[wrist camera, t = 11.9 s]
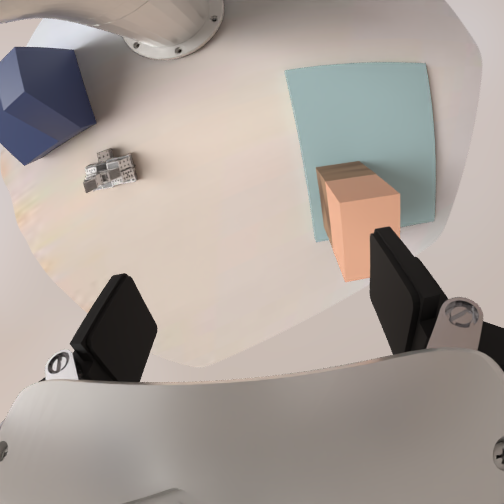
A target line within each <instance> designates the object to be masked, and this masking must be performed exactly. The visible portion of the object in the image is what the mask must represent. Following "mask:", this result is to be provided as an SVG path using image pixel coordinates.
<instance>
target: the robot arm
mask: <svg viewBox="0 0 504 504" xmlns="http://www.w3.org/2000/svg"><path fill="white" fill-rule="evenodd" d="M223 15H224V2H223V0H0V24H2V23H7V22H12V21H17V20H23V19H32V18H49V19H58V20H64V21H70V22H74V23H78V24H82V25H86V26H90V27H94V28H97V29H101V30H104V31H108V32H111V33H114V34H117V35H121V36H123V39H124V41H125V42H126V44H127V45H128V47H130V48H131V49H132V50H133V51H134V52H135V53H137V54H139V55H140V56H143V57H146V58H149V59H154V60H171V59H177V58H180V57H184V56H186V55H188V54H191V53H193V52H195V51H196V50H198V49H199V48H201V47H202V46H204V45H205V44H206V43H207V42H208V41H209V40H210V39H211V38H212V37H213V35H214V34H215V33H216V32H217V30H218V28H219V26H220V24H221V22H222V18H223ZM213 19H217V21H216V22H213ZM139 44H140V45H139ZM138 45H139V47H137V46H138ZM179 50H182V52H181V53H179V52H178V51H179ZM370 298H371V301H372V304H373V306H374V308H375V311H376V313H377V316H378V318H379V320H380V323H381V325H382V328H383V330H384V333H385V335H386V338H387V340H388V343H389V345H390V348H391V350H392V353H393V355H390V356H385V357H380V358H376V359H371V360H366V361H362V362H356V363H351V364H346V365H340V366H335V367H329V368H323V369H317V370H311V371H304V372H297V373H290V374H282V375H275V376H266V377H255V378H245V379H233V380H219V381H201V382H146V383H145V382H140V379H141V376H142V373H143V371H144V368H145V365H146V362H147V359H148V356H149V353H150V350H151V348H152V345H153V342H154V339H155V337H156V334H157V325H156V323H155V321H154V319H153V317H152V315H151V314H150V312H149V310H148V308H147V306H146V304H145V302H144V300H143V299H142V297H141V295H140V293H139V291H138V289H137V287H136V285H135V283H134V281H133V279H132V278H131V277H130V276H128V275H127V274H125V273H124V274H119V275H113V276H112V277H111V279H110V280H109V282H108V283H107V285H106V286H105V288H104V289H103V291H102V292H101V294H100V295H99V297H98V298H97V300H96V301H95V303H94V304H93V306H92V308H91V309H90V311H89V312H88V314H87V316H86V318H85V319H84V320H83V322H82V324H81V325H80V327H79V329H78V330H77V332H76V334H75V336H74V337H73V339H72V341H71V342H70V345H71V346H72V347H73V349H74V350H75V351H74V352H73V353H72V352H71V351H70V350H67V349H63V350H60V351H58V352H56V353H55V354H53V355H52V356H51V358H50V359H49V360H48V362H47V363H46V366H45V378H43V379H42V380H41V381H39V382H38V383H34V384H32V385H30V386H28V387H26V388H24V389H23V390H22V391H21V392H20V394H19V395H18V397H17V398H16V400H15V401H14V403H13V405H12V407H11V409H10V410H9V412H8V414H7V416H6V418H5V419H4V421H3V422H2V423H1V424H0V504H504V328H501V327H498V326H495V325H493V324H490V323H487V322H484V321H483V312H482V310H481V308H480V307H479V306H478V304H476V303H475V302H474V301H472V300H470V299H467V298H462V297H455V298H451V299H448V298H447V296H446V295H445V294H444V292H443V291H442V290H441V288H440V287H439V285H438V284H437V282H436V281H435V280H434V278H433V277H432V276H431V274H430V273H429V271H428V270H427V269H426V267H425V266H424V265H423V263H422V262H421V261H420V260H419V259H418V258H417V257H414V256H413V255H412V253H411V252H410V251H409V249H408V248H407V247H406V246H405V244H404V243H403V242H402V241H401V239H400V238H399V237H398V236H397V234H396V233H395V232H394V231H393V230H392V228H391V227H390V226H388V227H383V228H377V229H375V230H374V233H371V234H370Z"/></svg>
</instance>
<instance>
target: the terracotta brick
mask: <svg viewBox="0 0 504 504" xmlns="http://www.w3.org/2000/svg"><path fill="white" fill-rule="evenodd" d="M325 184H326V192H327V200H328V208H329V216H330V225H331V235H332V245H333V252H334V254H335V257H336V259H337V262H338V264H339V267H340V269H341V272H342V275H343V277H344V280H345V282H349V281H354V280H359V279H365V278H370V234H371V233H374V230H375V229H377V228H383V227H388V226H390V227H391V228H392V230H393V231H394V232H395V233H396V234H397V236H398V237H399V238H400V193H399V192H397V191H396V190H395V189H394V188H393V187H391V186H390V185H389V184H388V183H387V182H385V181H384V180H383V179H382V178H380V177H379V176H378V175H376V174H374V175H366V176H359V177H352V178H346V179H339V180H332V181H326V182H325Z"/></svg>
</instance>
